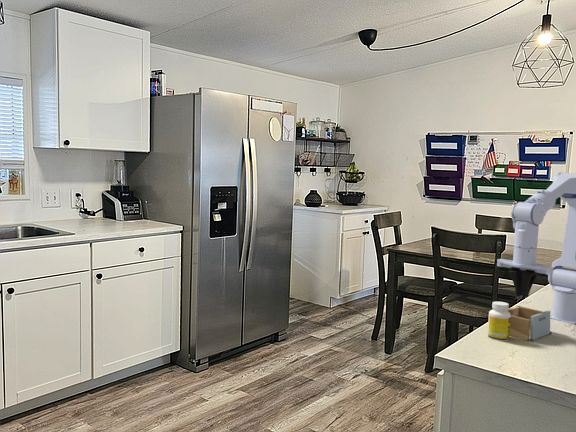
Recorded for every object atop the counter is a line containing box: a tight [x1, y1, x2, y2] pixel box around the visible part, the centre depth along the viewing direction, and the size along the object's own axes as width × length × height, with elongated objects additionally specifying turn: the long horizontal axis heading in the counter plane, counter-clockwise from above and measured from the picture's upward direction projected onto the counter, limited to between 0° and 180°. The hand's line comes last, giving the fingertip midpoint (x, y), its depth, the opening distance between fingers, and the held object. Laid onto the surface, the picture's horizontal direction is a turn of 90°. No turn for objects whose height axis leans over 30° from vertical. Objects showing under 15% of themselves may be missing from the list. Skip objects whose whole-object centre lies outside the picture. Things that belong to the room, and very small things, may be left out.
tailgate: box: [530, 310, 551, 341], centre depth 139 cm, size 9×1×6 cm, turn 129°
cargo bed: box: [507, 305, 553, 343], centre depth 143 cm, size 12×10×6 cm
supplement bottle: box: [486, 301, 511, 342], centre depth 138 cm, size 5×5×10 cm
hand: (522, 296), depth 143 cm, fingers closed
